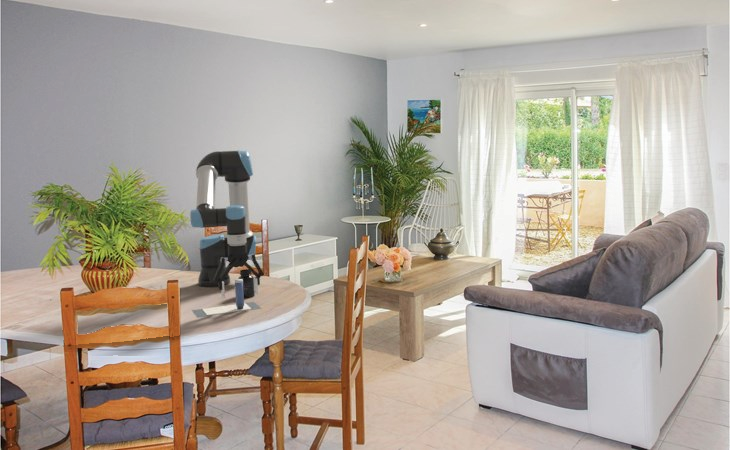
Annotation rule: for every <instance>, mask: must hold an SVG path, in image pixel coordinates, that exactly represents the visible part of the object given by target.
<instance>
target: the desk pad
mask: <svg viewBox="0 0 730 450" xmlns="http://www.w3.org/2000/svg"><path fill="white" fill-rule="evenodd" d="M245 303H246V304H247V305H248V306H249V307H250V308H251V309H249V310H242V311H235V312H228V313H221V314H214V315H206V313H205V312H204V311H203V310H202V309H203V308H198V309H191V311H192V313H193V314H194V315H195V317H196V318H197V319H198V318H205V317H210V316H211V317H212V316H217V315H218V316H219V315H227V314H233V313H234V314H235V313H239V312H247V311H253V310H255V311H256V310H259V309H262V307H261V306H260V305H258V304H257V303H256V302H255V301H249V302H245ZM235 304H236V303H235ZM235 304H233V305H235ZM226 306H228V305H226ZM218 307H221V306H218ZM211 308H213V306H212V307H211ZM204 309H206V307H205V308H204Z"/></svg>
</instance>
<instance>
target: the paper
mask: <svg viewBox="0 0 730 450" xmlns="http://www.w3.org/2000/svg"><path fill="white" fill-rule="evenodd" d="M246 303H247V302H244V306H243V309H237V307H236V303H235V305H234V304H229V305H228V306H227V305H222V306H221V307H219V306H214V307H213V306H212V307H213V308H212V307H207V308H206V307H205V308H206V309H205V308H201V309H202V310H203V311H204V312H205V313H206V315H213V316H215V315H214V314H220V315H222V314H221V313H227V314H229V313H228V312H234V313H236V312H235V311H241V312H243V311H242V310H248V311H250V310H249V309H251V308H250V307H249V306H248V305H247V304H246Z"/></svg>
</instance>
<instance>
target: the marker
mask: <svg viewBox="0 0 730 450" xmlns="http://www.w3.org/2000/svg"><path fill="white" fill-rule="evenodd" d="M234 290H235V291H234V292H235V304H236V307H237V309H243V306H244V303H245V298H244V294H243V279H238V278H237V279H234Z"/></svg>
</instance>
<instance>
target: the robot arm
mask: <svg viewBox="0 0 730 450" xmlns="http://www.w3.org/2000/svg"><path fill="white" fill-rule="evenodd" d="M195 170H196V171H195V175H196V179H197V188H196V190H197V191H196V208H195V209H191V211H190V213H189V214H190V215H189V216H190V225H191V227H192V228H198V229H199V228H201V229H203V228H218V227H222V228H223V227H226V235H227V236H226V237H225V235H224V234H223V233H221V234H219V233H218V234H213V235H208V236H205V237H202V238H201V239H200V240H199V252H200V254H199V255H200V256H199V257H200V271H199V275H198V280H197V282H198V283H197V284H198V286H200V287H208V288H209V287H212V288H213V287H218V290H220V291H221V298H222V299H226V291H225V285H228V284H230V283H231V276H230V275H229V273H230V272H231V271H232V269H233V268H239V267H240V268H241V267H242V268H243V267H245V268H246V269H249V270H250V271H251V274H253V275H254V276H253V277H254V292H255V295H257V294H259V287H258V286H260V285H261V282H260V281H261V279H260V278H261V277H262V276H264V275H265V273H264V271H263V270H262V268H261V266H260V264H259V263H258V261H257V258H256V247H257V236H256V235H254V233H253V231H252V230H250V215H249V214H250V212H249V197H248V196H249V195H248V194H249V193H248V182H249V181H251V177H252V176H253V175H254V171H253V165H252V159H251V155H250V153H249V151H247V150H227V151H225V150H224V151H213V152H210V153H208V154H206V155H205V156H204V157H202V159H201V160H200V161H199V163H198V164H197V166H196V169H195ZM218 177H219V178H220V177H222V178H224V181H225V182H226V183H227V184H228V198H229V199H228V200H229V206H226V207H225V208H221V207H220V208H216V181H217V179H218ZM248 261H252V262H251V263H252V264H253V265H254V267H255V268H256V270H255V269H254V268H253V267H252V266H251V265H250V264H249V263H248ZM227 262H228V264H226V263H227Z"/></svg>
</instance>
